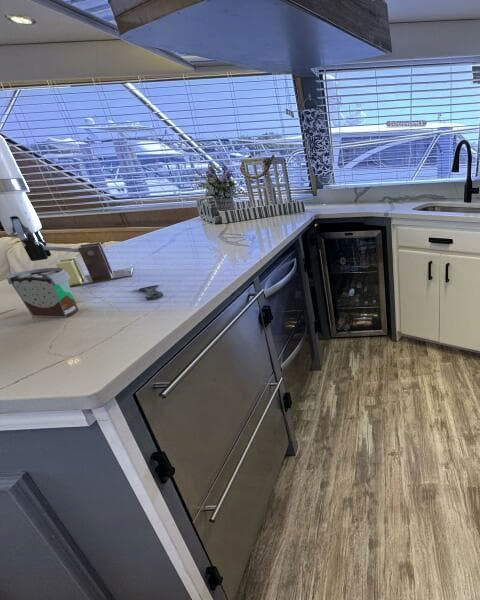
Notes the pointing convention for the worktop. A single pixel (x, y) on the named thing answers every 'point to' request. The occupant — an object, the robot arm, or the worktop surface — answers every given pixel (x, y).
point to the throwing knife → (151, 292)
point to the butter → (72, 269)
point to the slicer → (99, 266)
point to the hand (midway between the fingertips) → (41, 257)
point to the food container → (45, 292)
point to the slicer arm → (59, 248)
